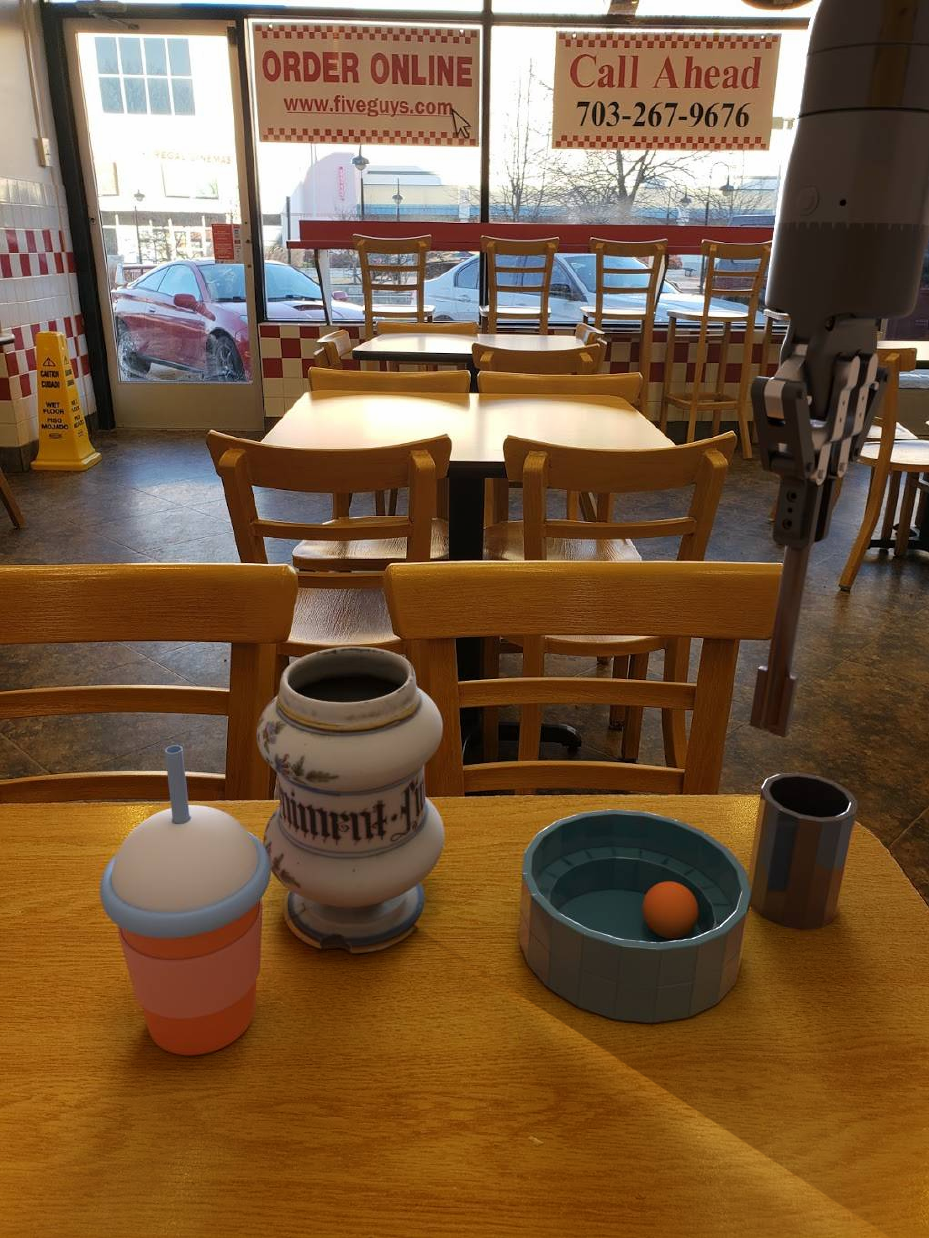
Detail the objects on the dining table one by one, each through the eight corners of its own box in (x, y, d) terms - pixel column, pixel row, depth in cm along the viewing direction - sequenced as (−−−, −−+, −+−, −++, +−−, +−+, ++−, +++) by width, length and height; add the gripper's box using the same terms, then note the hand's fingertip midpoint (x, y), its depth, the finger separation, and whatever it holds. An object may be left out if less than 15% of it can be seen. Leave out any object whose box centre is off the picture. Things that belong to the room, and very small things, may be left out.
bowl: (599, 855, 71) (605, 787, 69) (776, 944, 62) (789, 869, 60) (474, 949, 61) (476, 873, 59) (663, 1070, 53) (673, 986, 50)
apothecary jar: (247, 961, 60) (225, 709, 53) (291, 850, 71) (277, 630, 65) (435, 972, 59) (437, 719, 53) (450, 858, 71) (452, 637, 64)
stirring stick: (756, 720, 60) (798, 451, 54) (791, 733, 59) (839, 457, 53) (745, 727, 59) (787, 454, 53) (781, 740, 58) (828, 461, 52)
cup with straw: (305, 978, 59) (291, 722, 52) (234, 1095, 51) (206, 809, 44) (176, 950, 61) (146, 700, 54) (88, 1057, 53) (41, 779, 46)
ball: (658, 906, 65) (663, 863, 64) (705, 931, 63) (711, 886, 61) (629, 932, 62) (634, 887, 61) (677, 958, 60) (683, 912, 59)
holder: (768, 868, 70) (785, 763, 67) (849, 905, 66) (872, 795, 63) (729, 906, 66) (745, 796, 63) (814, 948, 62) (836, 832, 59)
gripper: (875, 211, 41) (811, 583, 48) (970, 224, 51) (907, 533, 57) (721, 212, 46) (682, 551, 52) (834, 223, 55) (789, 509, 62)
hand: (799, 540), depth 55 cm, fingers closed on stirring stick, 1 cm apart
